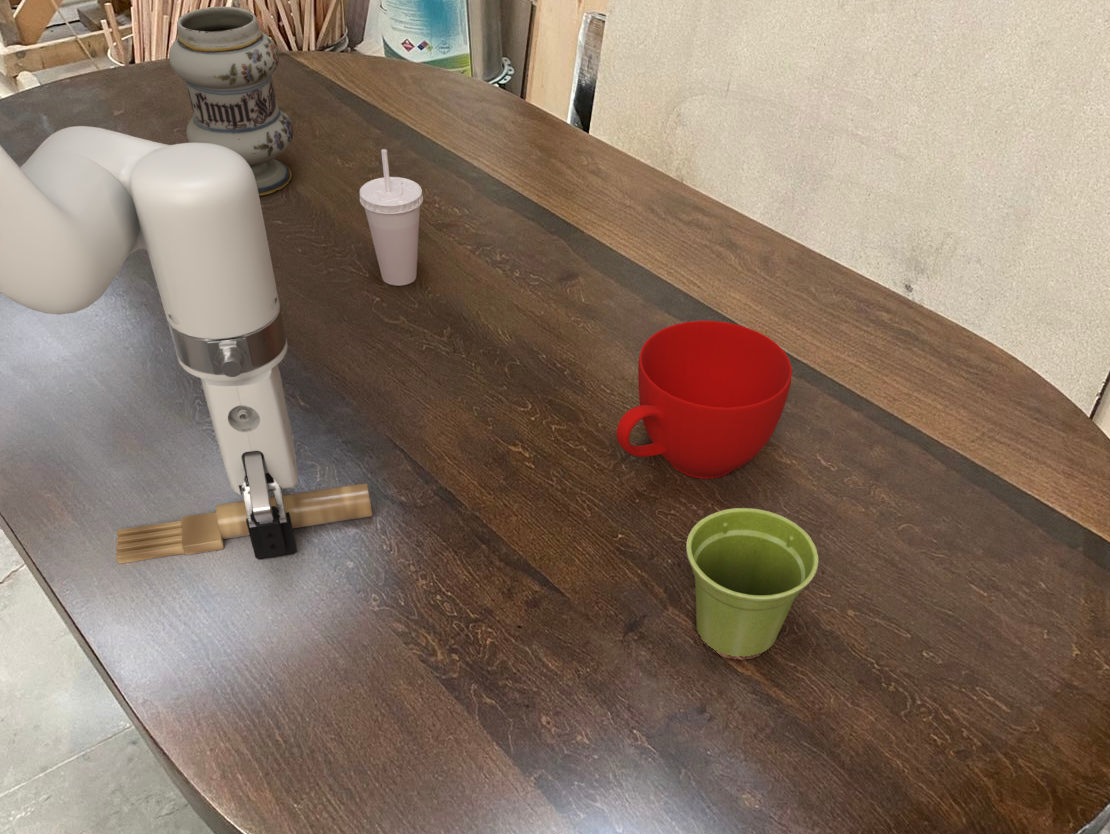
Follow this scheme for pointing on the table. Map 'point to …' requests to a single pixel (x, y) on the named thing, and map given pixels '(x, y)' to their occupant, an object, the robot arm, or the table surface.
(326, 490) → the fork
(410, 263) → the smoothie
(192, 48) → the apothecary jar
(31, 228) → the robot arm
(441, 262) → the table surface
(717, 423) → the ceramic cup
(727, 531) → the plant pot
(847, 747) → the table surface
